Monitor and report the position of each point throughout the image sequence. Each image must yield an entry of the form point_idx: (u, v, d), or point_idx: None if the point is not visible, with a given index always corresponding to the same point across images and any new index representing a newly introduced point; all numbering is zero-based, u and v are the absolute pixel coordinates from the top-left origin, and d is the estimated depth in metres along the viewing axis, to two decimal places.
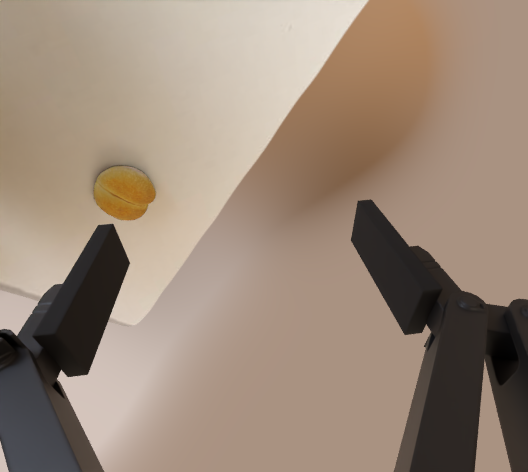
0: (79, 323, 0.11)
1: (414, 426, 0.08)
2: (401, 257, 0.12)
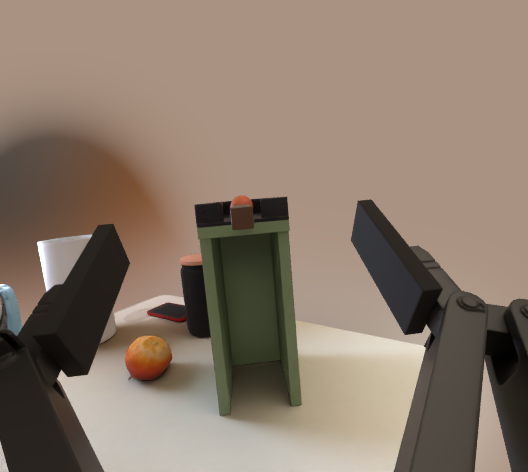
0: (79, 323, 0.11)
1: (414, 426, 0.08)
2: (401, 257, 0.12)
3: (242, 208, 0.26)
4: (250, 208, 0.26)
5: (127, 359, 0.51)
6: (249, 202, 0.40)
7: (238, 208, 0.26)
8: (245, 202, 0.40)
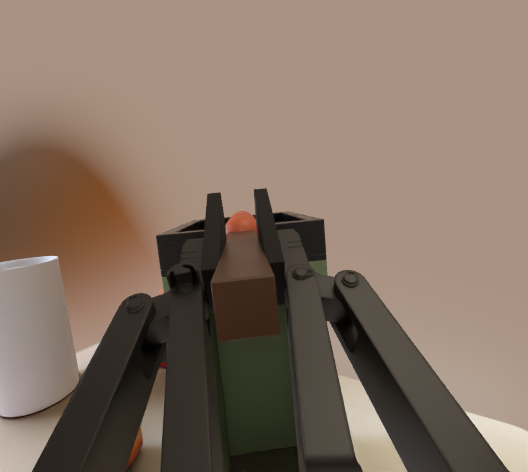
0: None
1: (297, 406, 0.09)
2: (264, 236, 0.14)
3: (246, 281, 0.09)
4: (269, 281, 0.09)
5: None
6: (255, 227, 0.24)
7: (235, 281, 0.09)
8: (248, 227, 0.23)
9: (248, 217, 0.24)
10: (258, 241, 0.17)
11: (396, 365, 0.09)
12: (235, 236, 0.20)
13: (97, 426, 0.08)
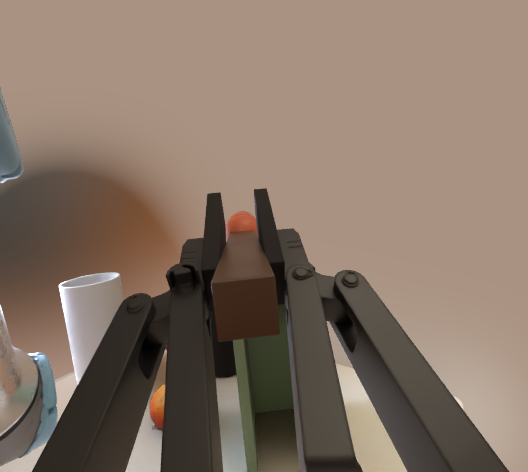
0: None
1: (297, 406, 0.09)
2: (264, 236, 0.14)
3: (246, 281, 0.09)
4: (269, 281, 0.09)
5: (152, 411, 0.52)
6: (255, 227, 0.24)
7: (235, 281, 0.09)
8: (249, 227, 0.23)
9: (248, 217, 0.24)
10: (258, 241, 0.17)
11: (396, 365, 0.09)
12: (235, 236, 0.20)
13: (97, 426, 0.08)
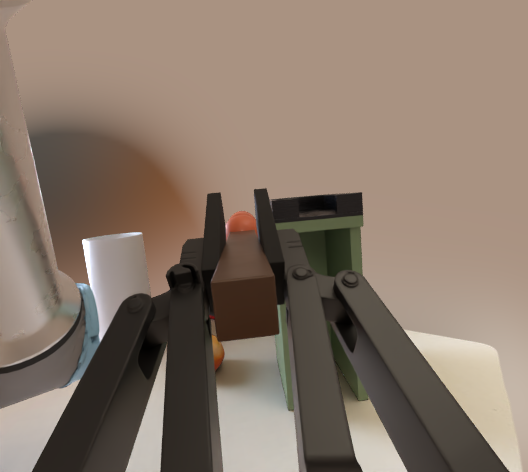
0: None
1: (297, 406, 0.09)
2: (264, 236, 0.14)
3: (246, 281, 0.09)
4: (269, 281, 0.09)
5: None
6: (255, 227, 0.24)
7: (235, 281, 0.09)
8: (248, 227, 0.23)
9: (248, 217, 0.24)
10: (258, 241, 0.17)
11: (396, 366, 0.09)
12: (235, 236, 0.20)
13: (97, 426, 0.08)
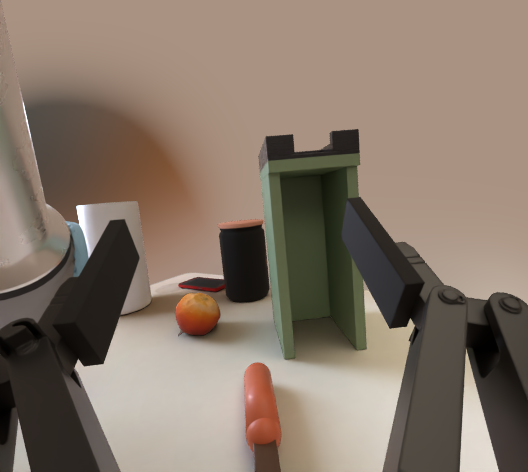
0: (95, 314, 0.12)
1: (401, 420, 0.08)
2: (386, 252, 0.12)
3: None
4: None
5: (179, 312, 0.50)
6: (276, 435, 0.26)
7: None
8: (270, 439, 0.25)
9: (269, 423, 0.26)
10: None
11: None
12: None
13: None
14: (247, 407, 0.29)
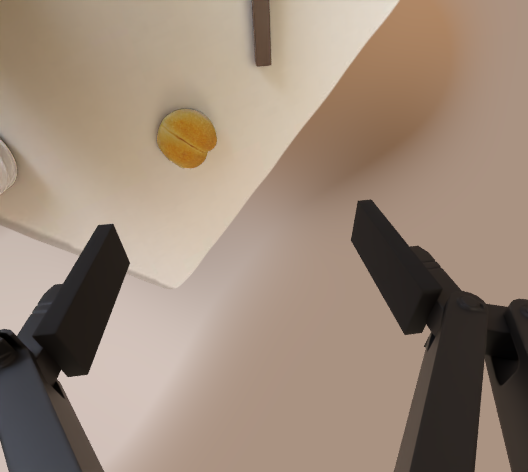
0: (79, 323, 0.11)
1: (414, 426, 0.08)
2: (401, 257, 0.12)
3: (264, 65, 0.40)
4: None
5: None
6: None
7: (262, 65, 0.40)
8: None
9: None
10: None
11: None
12: None
13: None
14: None
